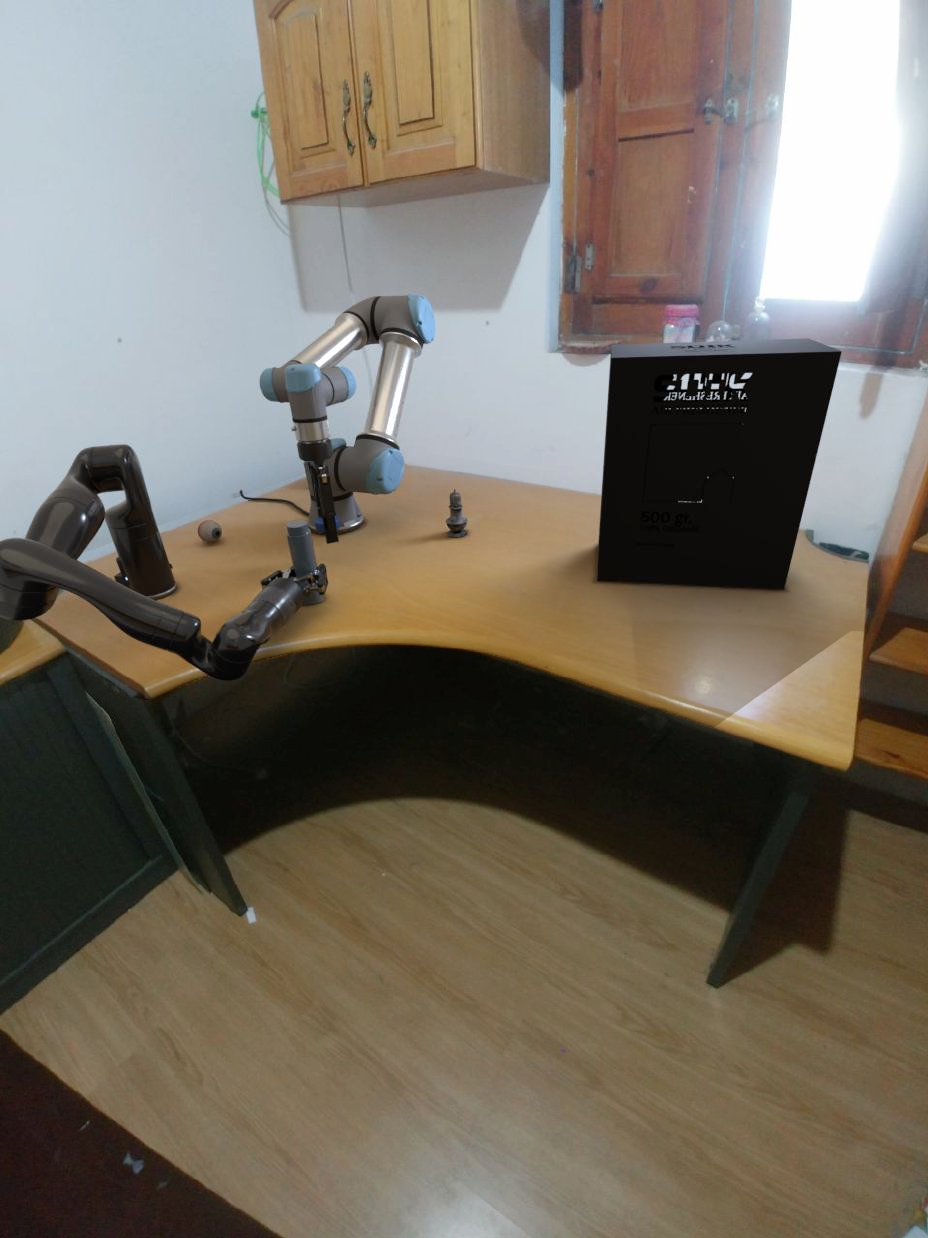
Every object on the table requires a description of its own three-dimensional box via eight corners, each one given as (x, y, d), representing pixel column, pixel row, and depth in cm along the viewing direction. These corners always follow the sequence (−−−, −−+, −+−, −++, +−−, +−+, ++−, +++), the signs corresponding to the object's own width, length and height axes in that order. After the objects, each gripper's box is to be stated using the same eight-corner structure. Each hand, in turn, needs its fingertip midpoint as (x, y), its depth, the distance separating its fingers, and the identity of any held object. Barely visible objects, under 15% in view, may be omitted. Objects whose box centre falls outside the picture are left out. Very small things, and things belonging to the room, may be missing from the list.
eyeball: (211, 547, 159) (205, 526, 156) (196, 543, 162) (190, 522, 159) (229, 539, 163) (224, 518, 160) (214, 536, 166) (209, 515, 164)
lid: (311, 528, 144) (310, 520, 143) (333, 522, 147) (331, 513, 146) (323, 534, 140) (321, 526, 139) (344, 528, 143) (343, 519, 142)
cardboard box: (763, 549, 141) (808, 338, 118) (784, 589, 124) (841, 351, 101) (598, 544, 148) (611, 344, 126) (596, 581, 131) (611, 357, 109)
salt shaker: (466, 537, 156) (463, 492, 150) (444, 537, 157) (440, 492, 151) (470, 529, 161) (468, 485, 155) (449, 528, 162) (446, 485, 156)
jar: (323, 592, 133) (308, 518, 125) (323, 602, 129) (308, 526, 121) (300, 596, 133) (284, 521, 124) (300, 606, 129) (283, 529, 120)
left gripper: (246, 619, 119) (284, 581, 133) (314, 623, 116) (345, 583, 131) (237, 585, 115) (277, 550, 129) (307, 588, 112) (340, 551, 127)
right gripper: (290, 434, 140) (307, 528, 151) (303, 451, 125) (321, 554, 136) (322, 429, 142) (337, 522, 154) (339, 446, 127) (354, 548, 138)
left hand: (311, 567), depth 130 cm, fingers closed on jar, 5 cm apart
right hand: (329, 537), depth 145 cm, fingers closed on lid, 6 cm apart
